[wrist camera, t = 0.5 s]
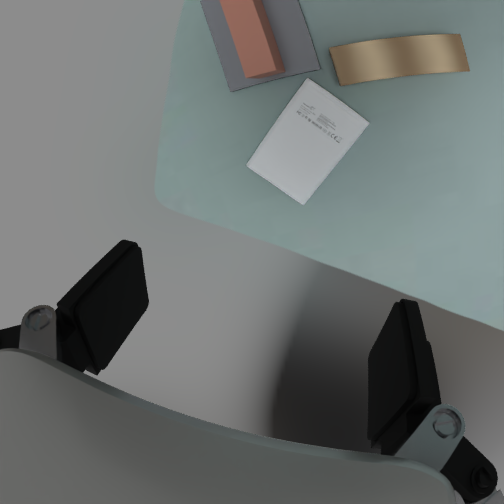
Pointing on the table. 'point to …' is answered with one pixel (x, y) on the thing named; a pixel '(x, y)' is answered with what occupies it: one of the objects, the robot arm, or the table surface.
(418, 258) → the table surface
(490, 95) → the table surface
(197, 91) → the table surface
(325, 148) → the external hard drive
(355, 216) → the table surface
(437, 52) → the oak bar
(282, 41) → the fulcrum board
